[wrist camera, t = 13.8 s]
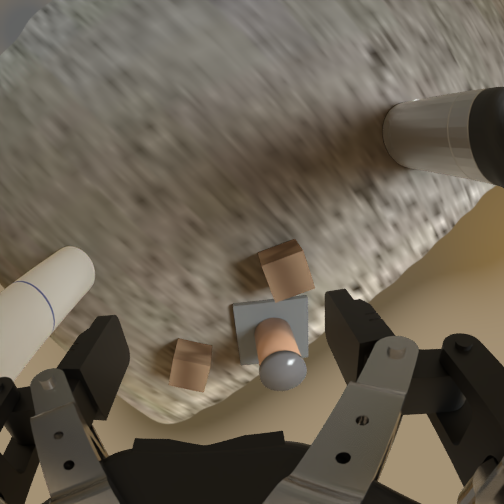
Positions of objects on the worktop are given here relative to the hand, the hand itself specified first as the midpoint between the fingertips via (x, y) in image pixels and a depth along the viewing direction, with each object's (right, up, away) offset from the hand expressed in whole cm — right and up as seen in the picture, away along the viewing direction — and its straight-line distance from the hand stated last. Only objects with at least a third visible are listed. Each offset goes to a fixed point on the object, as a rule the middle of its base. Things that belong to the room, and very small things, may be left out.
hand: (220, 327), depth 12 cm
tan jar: (+4, -9, +32) cm, 33 cm away
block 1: (-8, -12, +33) cm, 37 cm away
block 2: (+5, +1, +30) cm, 30 cm away
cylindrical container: (-24, 0, +28) cm, 37 cm away
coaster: (+4, -8, +33) cm, 34 cm away
